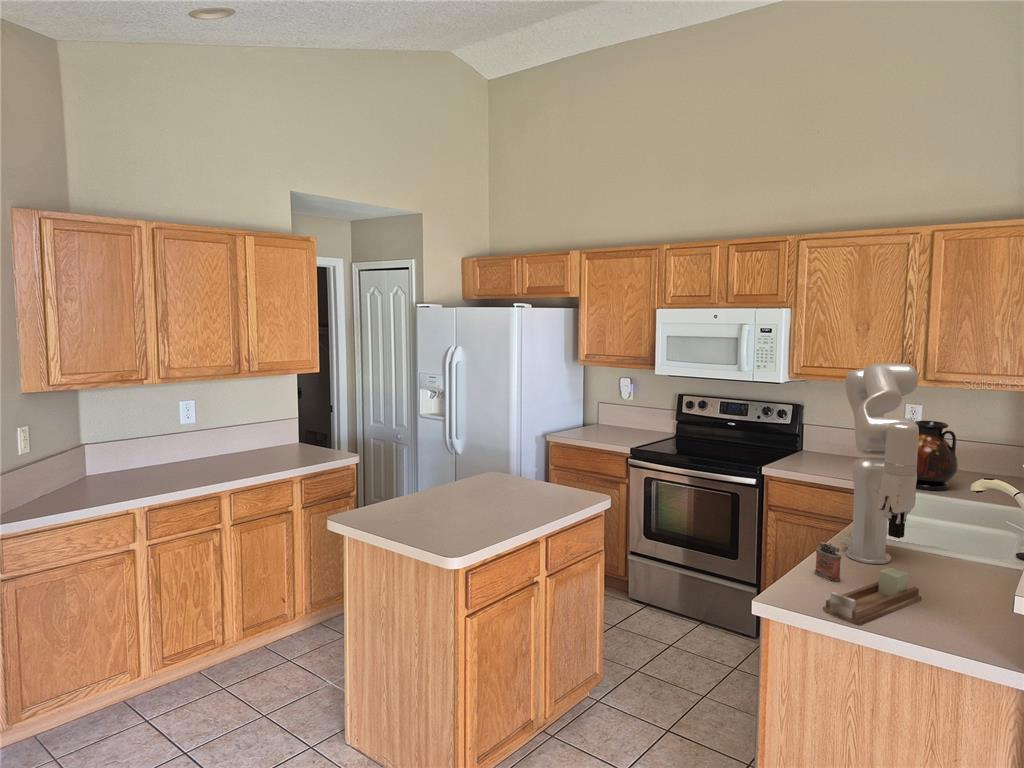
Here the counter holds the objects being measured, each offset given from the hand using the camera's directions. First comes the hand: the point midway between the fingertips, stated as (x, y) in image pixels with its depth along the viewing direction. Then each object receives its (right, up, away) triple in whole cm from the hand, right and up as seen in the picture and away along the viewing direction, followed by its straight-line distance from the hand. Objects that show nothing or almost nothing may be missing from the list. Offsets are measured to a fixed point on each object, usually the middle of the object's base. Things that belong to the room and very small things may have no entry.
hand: (896, 536), depth 186 cm
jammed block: (0, -16, +2) cm, 16 cm away
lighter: (-11, -16, +16) cm, 25 cm away
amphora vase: (+77, -4, +115) cm, 138 cm away
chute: (-8, -18, -3) cm, 19 cm away
